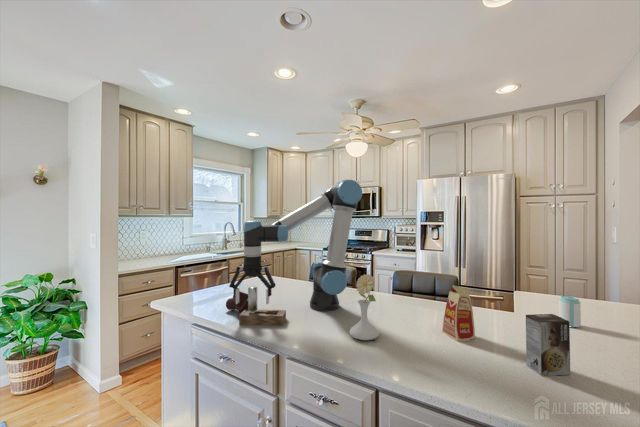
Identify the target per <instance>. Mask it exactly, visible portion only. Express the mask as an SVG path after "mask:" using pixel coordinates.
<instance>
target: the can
mask: <svg viewBox="0 0 640 427" xmlns="http://www.w3.org/2000/svg"><path fill="white" fill-rule="evenodd" d="M581 305H582V304H581V301H580V300H579V298H578V297H576V296H570V295H560V298H559V299H558V316H559V317H561V318H563V319H565V320H567V321H569V326H571V327H578V328H580V327H581V325H582V324H581V322H582V321H581V320H582V318H581V314H582V313H581V312H582V311H581V307H582V306H581ZM571 327H570V328H571Z"/></svg>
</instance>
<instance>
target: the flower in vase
mask: <svg viewBox="0 0 640 427" xmlns="http://www.w3.org/2000/svg"><path fill="white" fill-rule="evenodd" d="M375 281H376V280H375V278H374V277H373V276H372V275H370V274H369V273H366V274H364V273H363V275H360V277H358V279H357V280H356V286H355V287H356V290H357V292H358V294H359V295H360V296H361V297H363V298H364V299H359V300H357V303H358V304H359V307H360V316H361V317H360V319H359V321H358V322H357V323H355V324H354V325H353V326H351V328H350V329H349V334H350V336H351V337H352V338H355V339H357V340H361V341H372V340H375V339H377V338H378V337H379V335H380V332H379V330H378V328H376V327H375V326H374V325H373V324H372V323H370V321H369V320H368V308H369V306H370V304H371V302H376V301H377V300H376V298H375V295H374V294H370V293H371V292H372V290H373V289H374V287H375ZM365 294H367V296H366V295H365Z"/></svg>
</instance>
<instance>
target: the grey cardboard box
mask: <svg viewBox="0 0 640 427" xmlns="http://www.w3.org/2000/svg"><path fill="white" fill-rule="evenodd" d="M570 339H571V338H570V327H569V321H567V320H565V319H563V318H561V317H559V315H556V314H554V313H543V314H541V313H540V314H534V313H533V314H525V346H526V347H525V355H526V356H525V361H526V362H525V363H526V364H525V365H526V367H527V368H529V367H530V368H529V369H531V370H532V371H533V372H535V373H536V372H537V373H536V374H538V375H539V376H541V377H547V376H570V375H571V343H570V342H571V341H570Z"/></svg>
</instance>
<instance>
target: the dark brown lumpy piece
mask: <svg viewBox="0 0 640 427" xmlns="http://www.w3.org/2000/svg"><path fill="white" fill-rule="evenodd" d="M225 307H226V309H227V310H228V311H234V310H236V311H238V313H239V314H241V313H242V312H243V311H244V310H245V309H248V293H246V292H243V291H240V290H239V303H238V304H236V296H234V294H233V295H232V297H231V298H228V299H227V300H226V302H225Z"/></svg>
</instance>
